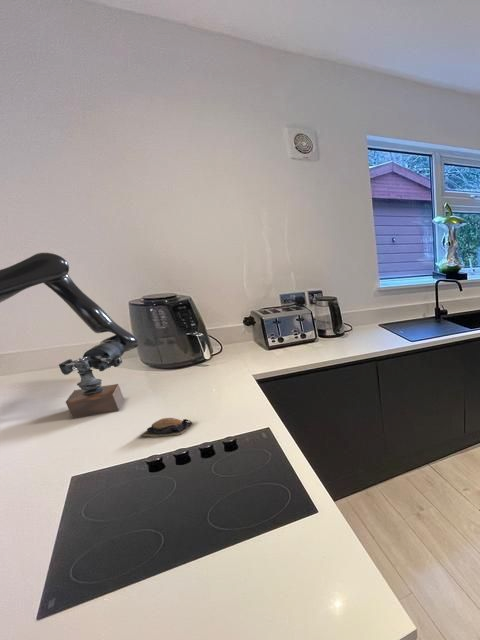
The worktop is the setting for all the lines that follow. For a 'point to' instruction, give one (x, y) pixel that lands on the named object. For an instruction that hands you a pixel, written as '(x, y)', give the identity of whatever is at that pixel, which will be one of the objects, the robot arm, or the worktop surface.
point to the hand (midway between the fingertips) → (82, 370)
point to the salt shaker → (88, 379)
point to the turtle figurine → (168, 427)
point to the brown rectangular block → (95, 401)
